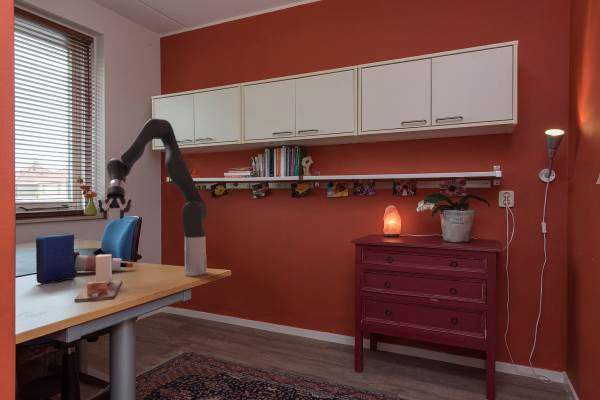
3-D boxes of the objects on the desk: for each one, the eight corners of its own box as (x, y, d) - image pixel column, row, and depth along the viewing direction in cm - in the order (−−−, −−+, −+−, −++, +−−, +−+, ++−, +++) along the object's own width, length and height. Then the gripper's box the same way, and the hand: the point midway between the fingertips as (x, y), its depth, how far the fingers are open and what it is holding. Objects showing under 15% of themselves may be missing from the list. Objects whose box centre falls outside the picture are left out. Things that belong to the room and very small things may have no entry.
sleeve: (111, 280, 154) (111, 254, 154) (110, 283, 149) (109, 256, 149) (98, 281, 152) (97, 254, 152) (96, 284, 147) (95, 256, 147)
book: (71, 277, 167) (70, 232, 166) (77, 278, 164) (77, 232, 164) (34, 284, 154) (34, 235, 154) (41, 285, 151) (40, 236, 151)
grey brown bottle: (130, 280, 181) (131, 263, 176) (48, 278, 170) (47, 259, 166) (133, 267, 189) (134, 250, 185) (55, 264, 179) (55, 246, 174)
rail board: (121, 282, 156) (121, 270, 156) (113, 298, 132) (113, 284, 132) (89, 285, 152) (88, 272, 152) (74, 302, 128) (74, 287, 128)
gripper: (98, 185, 170) (93, 212, 159) (132, 185, 175) (130, 212, 164) (100, 196, 175) (96, 224, 164) (133, 196, 180) (132, 223, 169)
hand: (113, 218), depth 164 cm, fingers open, 5 cm apart
